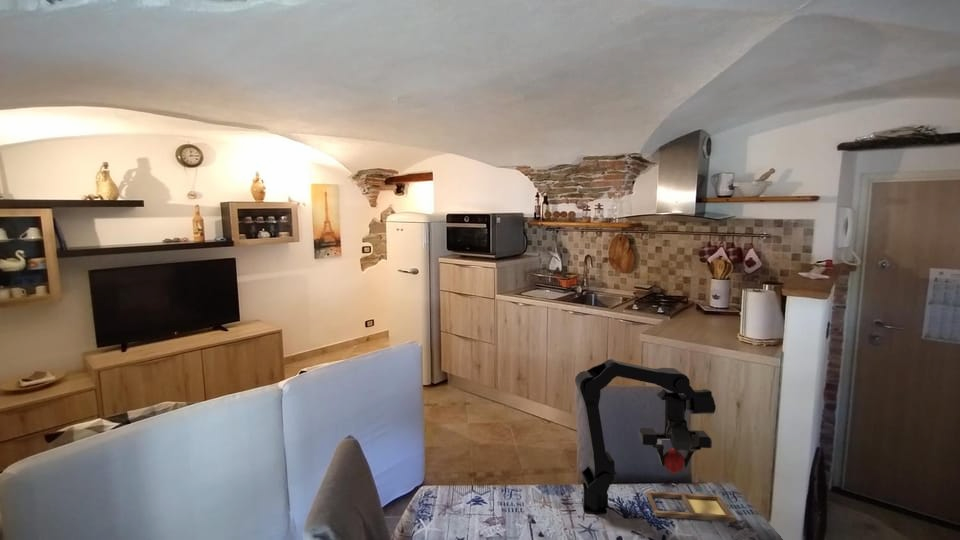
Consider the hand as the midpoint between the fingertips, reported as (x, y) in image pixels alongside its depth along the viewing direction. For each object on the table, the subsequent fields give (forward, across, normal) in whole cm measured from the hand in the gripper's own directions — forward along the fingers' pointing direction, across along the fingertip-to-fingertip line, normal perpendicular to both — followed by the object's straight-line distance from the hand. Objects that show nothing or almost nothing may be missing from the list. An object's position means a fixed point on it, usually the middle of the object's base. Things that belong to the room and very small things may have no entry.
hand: (673, 466), depth 132 cm
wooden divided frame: (+12, +4, 0) cm, 13 cm away
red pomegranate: (+2, 0, 0) cm, 2 cm away
